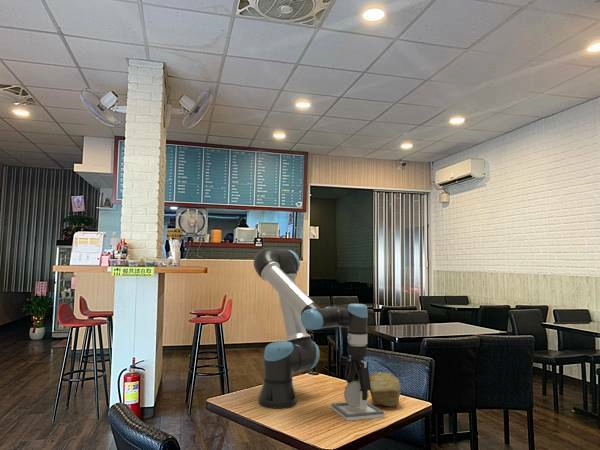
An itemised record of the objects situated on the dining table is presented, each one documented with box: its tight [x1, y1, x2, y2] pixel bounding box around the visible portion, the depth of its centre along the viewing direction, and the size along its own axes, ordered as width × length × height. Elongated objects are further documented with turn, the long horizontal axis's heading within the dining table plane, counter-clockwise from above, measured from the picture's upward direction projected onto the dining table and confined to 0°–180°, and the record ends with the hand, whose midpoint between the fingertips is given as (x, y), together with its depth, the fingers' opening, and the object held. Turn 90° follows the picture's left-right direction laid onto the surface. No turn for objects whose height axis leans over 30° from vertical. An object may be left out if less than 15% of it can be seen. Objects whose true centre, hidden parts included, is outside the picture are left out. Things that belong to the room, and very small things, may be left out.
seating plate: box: [330, 401, 385, 422], centre depth 168 cm, size 15×15×2 cm
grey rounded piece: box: [343, 380, 369, 407], centre depth 168 cm, size 10×10×10 cm
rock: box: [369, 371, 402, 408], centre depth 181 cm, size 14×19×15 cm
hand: (356, 404), depth 169 cm, fingers closed on grey rounded piece, 10 cm apart
